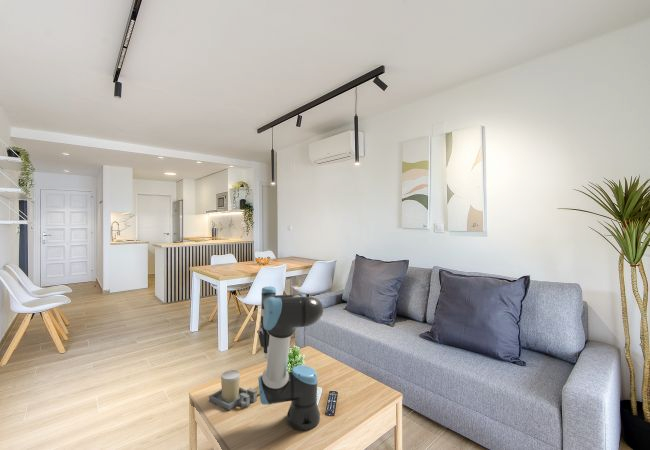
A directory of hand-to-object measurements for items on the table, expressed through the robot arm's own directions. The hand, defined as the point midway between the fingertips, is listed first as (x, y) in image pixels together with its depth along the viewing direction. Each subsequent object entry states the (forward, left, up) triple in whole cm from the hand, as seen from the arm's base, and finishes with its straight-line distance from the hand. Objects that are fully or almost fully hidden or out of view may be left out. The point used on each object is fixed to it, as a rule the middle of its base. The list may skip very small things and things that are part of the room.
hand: (267, 358), depth 167 cm
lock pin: (-3, +8, -14) cm, 16 cm away
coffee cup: (+7, +19, -15) cm, 25 cm away
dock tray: (+5, +19, -15) cm, 25 cm away
